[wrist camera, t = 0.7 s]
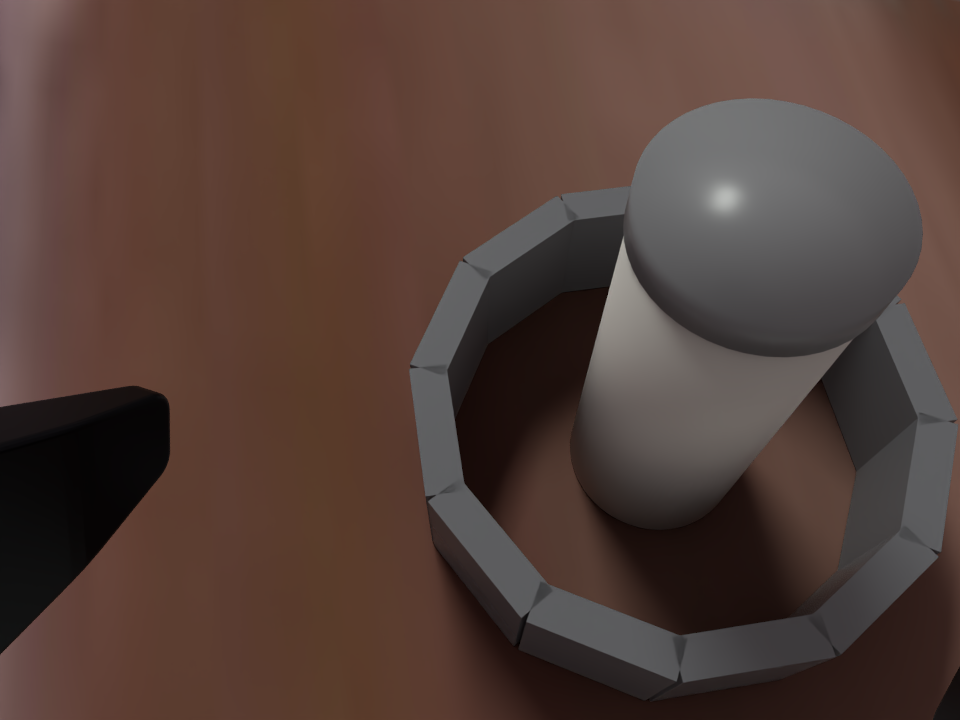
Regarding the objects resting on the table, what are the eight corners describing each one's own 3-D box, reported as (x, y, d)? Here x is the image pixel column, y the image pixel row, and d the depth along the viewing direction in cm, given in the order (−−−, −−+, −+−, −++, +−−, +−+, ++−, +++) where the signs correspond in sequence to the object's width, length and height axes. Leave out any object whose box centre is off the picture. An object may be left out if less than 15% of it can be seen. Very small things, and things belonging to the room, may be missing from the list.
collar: (839, 779, 22) (910, 774, 18) (346, 580, 24) (324, 541, 20) (914, 337, 28) (979, 269, 24) (515, 212, 30) (521, 133, 27)
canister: (713, 559, 24) (900, 370, 14) (543, 496, 25) (595, 272, 15) (753, 406, 27) (939, 143, 16) (596, 353, 27) (674, 70, 17)
